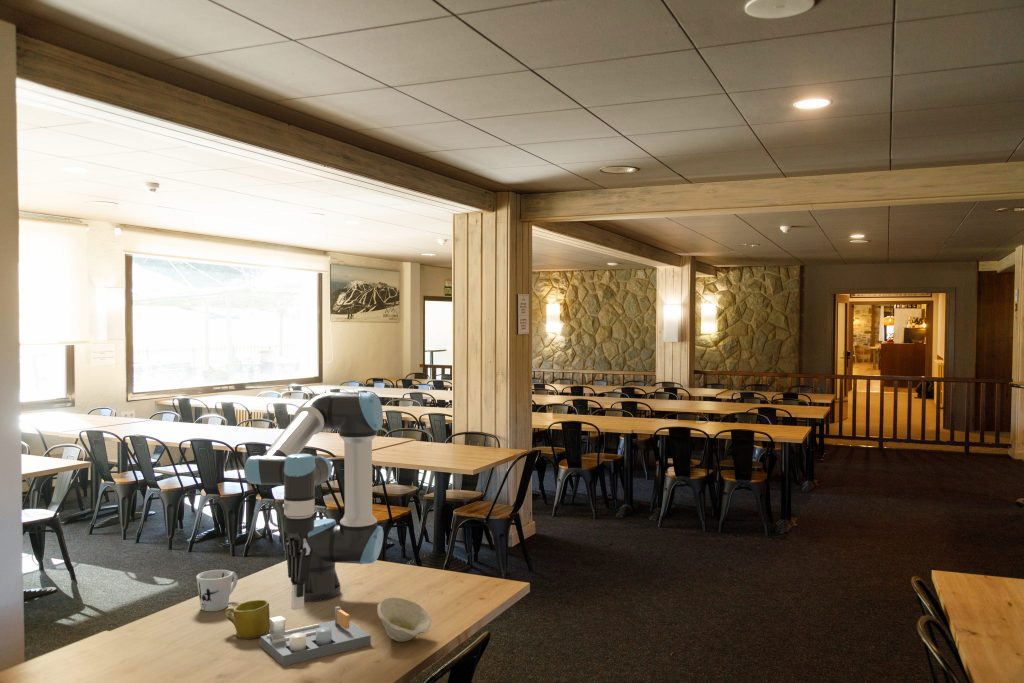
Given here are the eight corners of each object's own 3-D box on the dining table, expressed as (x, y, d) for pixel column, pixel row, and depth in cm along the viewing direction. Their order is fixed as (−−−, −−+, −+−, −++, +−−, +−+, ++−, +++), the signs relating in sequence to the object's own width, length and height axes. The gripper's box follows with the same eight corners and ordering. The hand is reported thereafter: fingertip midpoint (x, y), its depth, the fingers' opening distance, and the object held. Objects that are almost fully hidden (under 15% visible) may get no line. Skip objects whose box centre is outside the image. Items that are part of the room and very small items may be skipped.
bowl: (406, 654, 204) (406, 615, 204) (365, 643, 211) (366, 605, 211) (441, 636, 217) (441, 599, 217) (402, 626, 224) (402, 591, 224)
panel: (260, 645, 209) (260, 634, 209) (344, 627, 223) (344, 616, 223) (282, 666, 196) (282, 653, 196) (370, 644, 210) (370, 633, 210)
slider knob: (269, 637, 208) (269, 618, 208) (281, 635, 210) (281, 615, 210) (273, 641, 205) (273, 621, 205) (285, 638, 207) (285, 619, 207)
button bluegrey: (313, 642, 206) (313, 629, 206) (327, 638, 208) (327, 626, 208) (319, 646, 203) (319, 634, 203) (334, 643, 205) (334, 630, 205)
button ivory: (287, 648, 202) (287, 635, 202) (302, 644, 204) (302, 631, 204) (293, 653, 199) (293, 639, 199) (308, 649, 201) (308, 636, 201)
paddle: (334, 624, 218) (334, 607, 218) (338, 623, 218) (339, 606, 218) (345, 632, 212) (345, 614, 212) (349, 631, 213) (350, 613, 213)
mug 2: (284, 622, 221) (271, 591, 219) (262, 646, 212) (248, 614, 210) (249, 624, 226) (237, 594, 224) (227, 647, 217) (213, 616, 214)
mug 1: (188, 610, 236) (188, 576, 236) (223, 595, 249) (224, 564, 249) (215, 615, 232) (215, 581, 232) (250, 600, 245) (250, 568, 246)
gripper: (275, 512, 204) (274, 604, 204) (294, 521, 194) (293, 618, 194) (303, 509, 209) (302, 599, 209) (323, 518, 198) (322, 612, 198)
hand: (297, 608), depth 201 cm, fingers closed
